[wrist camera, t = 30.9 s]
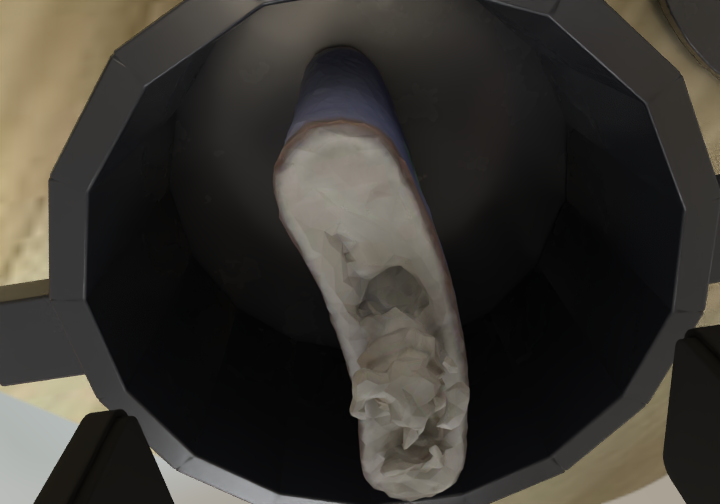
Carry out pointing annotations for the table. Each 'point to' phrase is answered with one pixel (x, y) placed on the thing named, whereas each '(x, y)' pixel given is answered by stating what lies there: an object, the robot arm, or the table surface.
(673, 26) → the pan lid
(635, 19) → the table surface
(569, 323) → the pan
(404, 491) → the flask
